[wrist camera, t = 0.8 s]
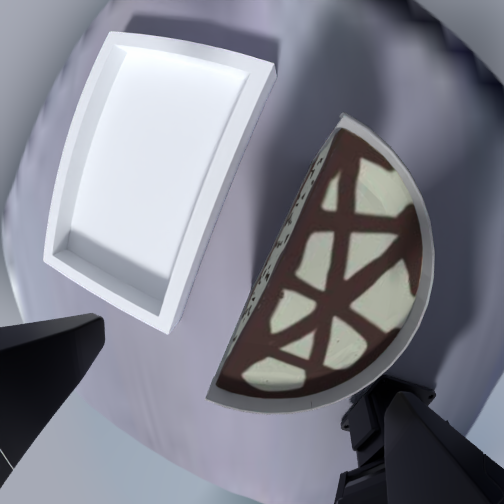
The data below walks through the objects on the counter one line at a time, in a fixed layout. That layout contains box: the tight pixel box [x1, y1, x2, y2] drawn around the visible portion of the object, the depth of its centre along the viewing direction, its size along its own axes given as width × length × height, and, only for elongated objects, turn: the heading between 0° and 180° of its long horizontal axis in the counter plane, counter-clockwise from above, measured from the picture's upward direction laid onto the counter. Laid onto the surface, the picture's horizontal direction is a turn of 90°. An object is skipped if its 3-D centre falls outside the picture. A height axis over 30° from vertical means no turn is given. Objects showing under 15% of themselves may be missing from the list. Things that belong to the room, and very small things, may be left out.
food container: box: [205, 112, 435, 415], centre depth 14 cm, size 12×6×10 cm, turn 156°
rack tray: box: [43, 32, 277, 335], centre depth 18 cm, size 12×18×2 cm, turn 158°
